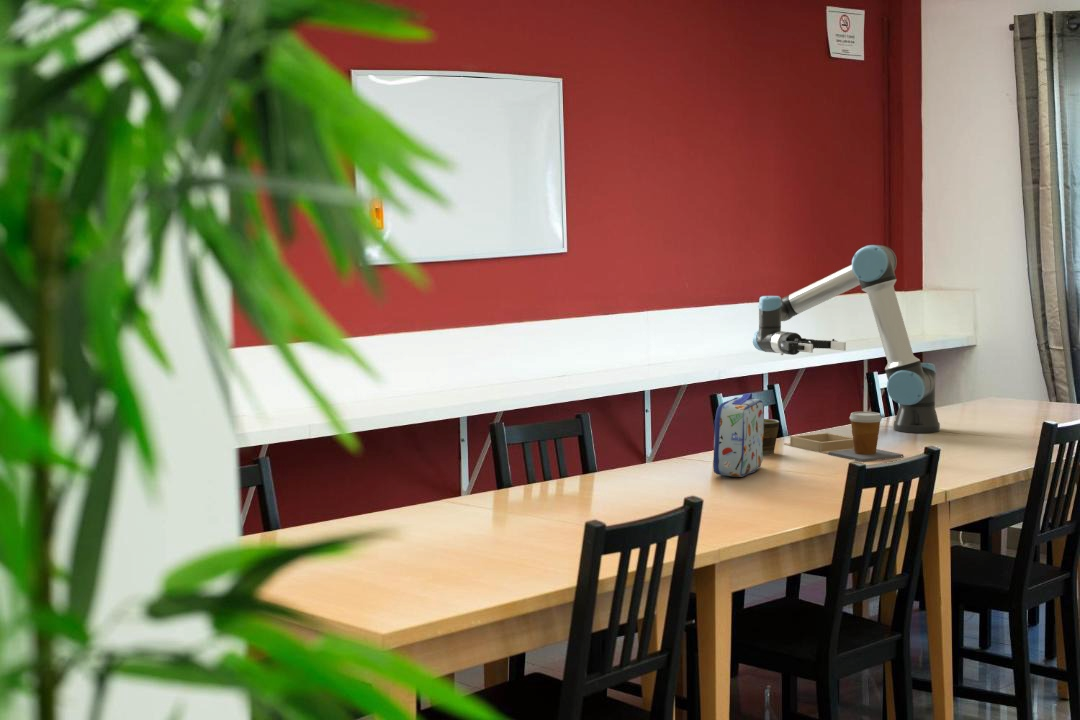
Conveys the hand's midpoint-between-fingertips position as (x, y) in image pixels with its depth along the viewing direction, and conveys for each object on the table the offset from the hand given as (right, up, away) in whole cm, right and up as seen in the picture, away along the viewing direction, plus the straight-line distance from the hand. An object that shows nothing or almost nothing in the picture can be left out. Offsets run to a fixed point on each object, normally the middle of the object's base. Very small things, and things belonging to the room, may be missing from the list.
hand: (828, 347), depth 421 cm
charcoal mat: (+4, -33, -31) cm, 45 cm away
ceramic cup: (-27, -33, -25) cm, 49 cm away
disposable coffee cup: (+4, -32, -30) cm, 45 cm away
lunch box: (-38, -36, -56) cm, 76 cm away
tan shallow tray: (-5, -31, -14) cm, 35 cm away
